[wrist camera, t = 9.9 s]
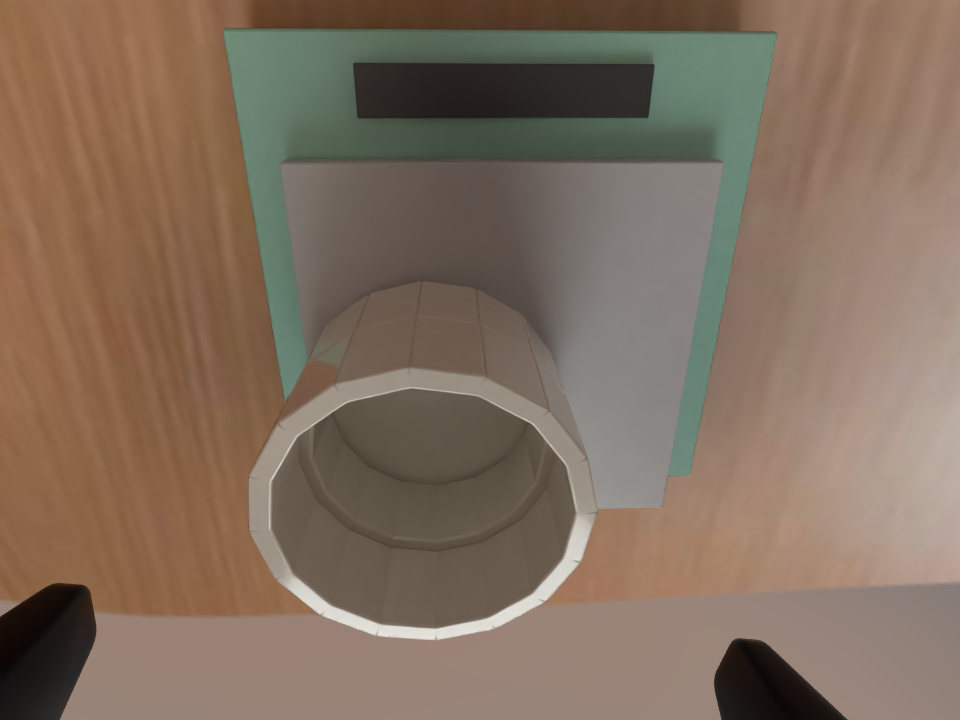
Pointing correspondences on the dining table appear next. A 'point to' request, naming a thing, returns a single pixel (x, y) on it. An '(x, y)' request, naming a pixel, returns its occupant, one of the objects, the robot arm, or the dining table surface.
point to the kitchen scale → (516, 201)
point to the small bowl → (424, 469)
